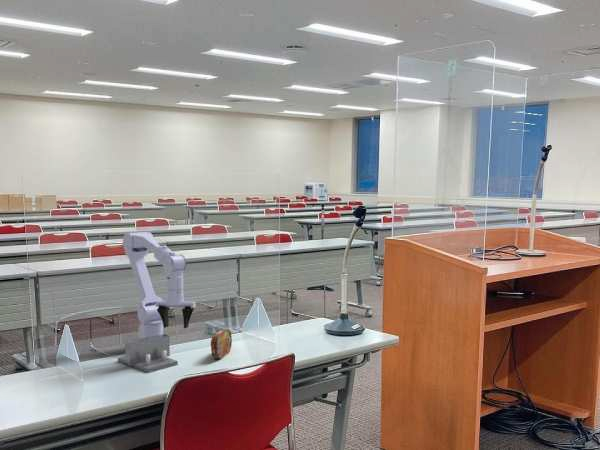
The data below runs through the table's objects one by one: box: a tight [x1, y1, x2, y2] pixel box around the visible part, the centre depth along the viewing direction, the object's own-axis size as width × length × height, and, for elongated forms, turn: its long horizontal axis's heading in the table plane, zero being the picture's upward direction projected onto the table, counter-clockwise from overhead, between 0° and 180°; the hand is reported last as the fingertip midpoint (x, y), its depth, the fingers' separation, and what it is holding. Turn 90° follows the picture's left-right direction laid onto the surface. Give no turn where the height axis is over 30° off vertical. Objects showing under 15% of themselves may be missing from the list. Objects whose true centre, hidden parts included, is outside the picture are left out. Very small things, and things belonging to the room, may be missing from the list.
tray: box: [117, 350, 178, 374], centre depth 179 cm, size 19×11×4 cm, turn 48°
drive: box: [124, 333, 171, 365], centre depth 179 cm, size 4×14×7 cm, turn 130°
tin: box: [210, 328, 233, 360], centre depth 187 cm, size 15×3×8 cm, turn 168°
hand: (176, 327), depth 189 cm, fingers open, 7 cm apart
